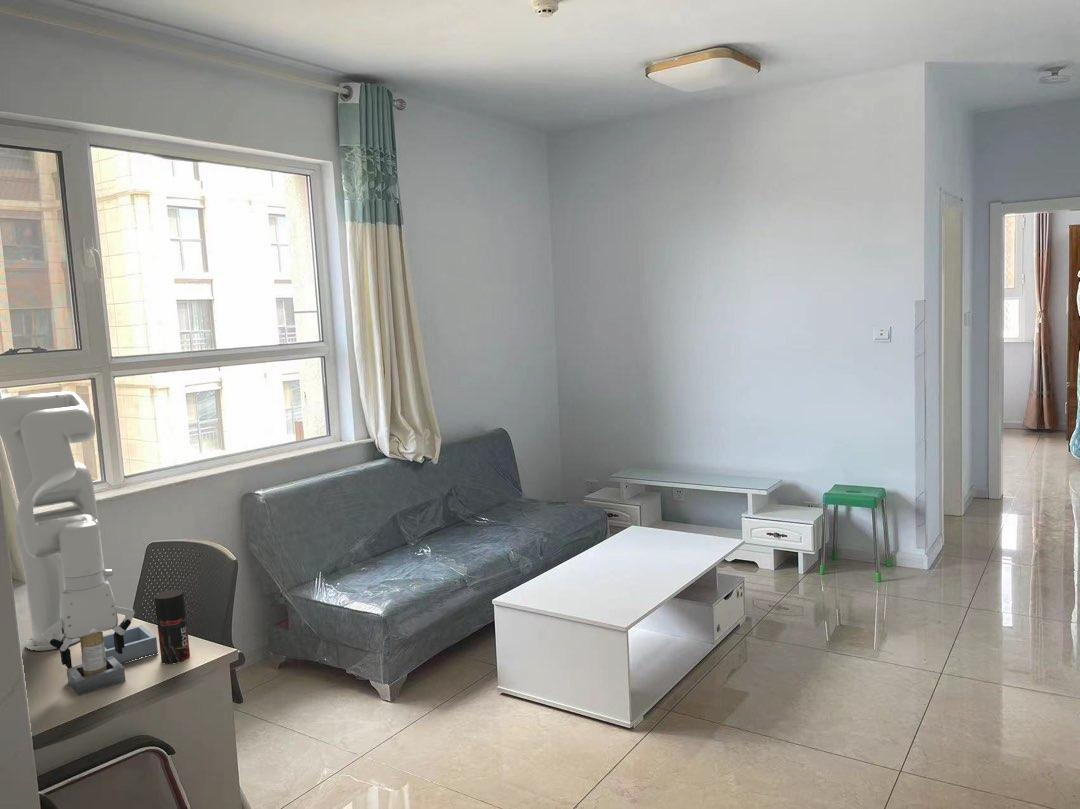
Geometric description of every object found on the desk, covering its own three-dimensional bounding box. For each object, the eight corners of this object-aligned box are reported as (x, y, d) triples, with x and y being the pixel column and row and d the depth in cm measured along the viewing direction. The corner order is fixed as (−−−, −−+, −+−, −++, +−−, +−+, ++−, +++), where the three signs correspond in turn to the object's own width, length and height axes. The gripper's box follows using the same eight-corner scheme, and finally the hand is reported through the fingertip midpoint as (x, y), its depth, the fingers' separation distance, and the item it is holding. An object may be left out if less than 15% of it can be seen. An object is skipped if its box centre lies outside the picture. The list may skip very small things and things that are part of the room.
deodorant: (184, 663, 181) (177, 597, 179) (157, 665, 180) (149, 599, 179) (193, 652, 187) (187, 588, 185) (167, 654, 186) (160, 590, 185)
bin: (92, 655, 188) (90, 638, 187) (143, 641, 195) (141, 624, 194) (105, 669, 180) (103, 652, 179) (158, 653, 187) (156, 637, 186)
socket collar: (67, 682, 174) (66, 668, 174) (114, 668, 180) (112, 655, 179) (78, 695, 167) (76, 681, 167) (125, 681, 173) (124, 667, 173)
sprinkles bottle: (90, 678, 175) (83, 617, 174) (112, 676, 176) (105, 615, 174) (80, 687, 171) (73, 625, 169) (103, 685, 171) (96, 623, 170)
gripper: (124, 567, 179) (133, 642, 181) (33, 587, 168) (43, 667, 170) (134, 574, 174) (143, 651, 176) (41, 595, 162) (51, 678, 164)
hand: (94, 659), depth 173 cm, fingers open, 9 cm apart
